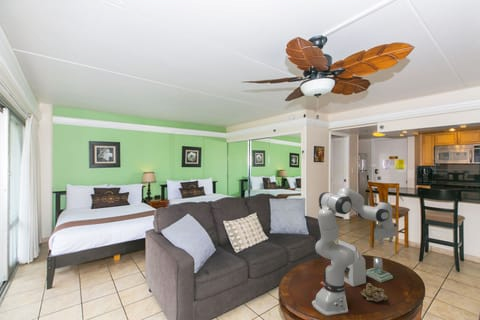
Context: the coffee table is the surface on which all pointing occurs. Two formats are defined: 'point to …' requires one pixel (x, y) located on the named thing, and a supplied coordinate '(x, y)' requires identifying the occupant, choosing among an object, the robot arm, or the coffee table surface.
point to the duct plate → (380, 278)
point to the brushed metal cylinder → (378, 266)
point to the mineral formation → (373, 293)
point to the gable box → (354, 267)
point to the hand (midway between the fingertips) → (385, 243)
